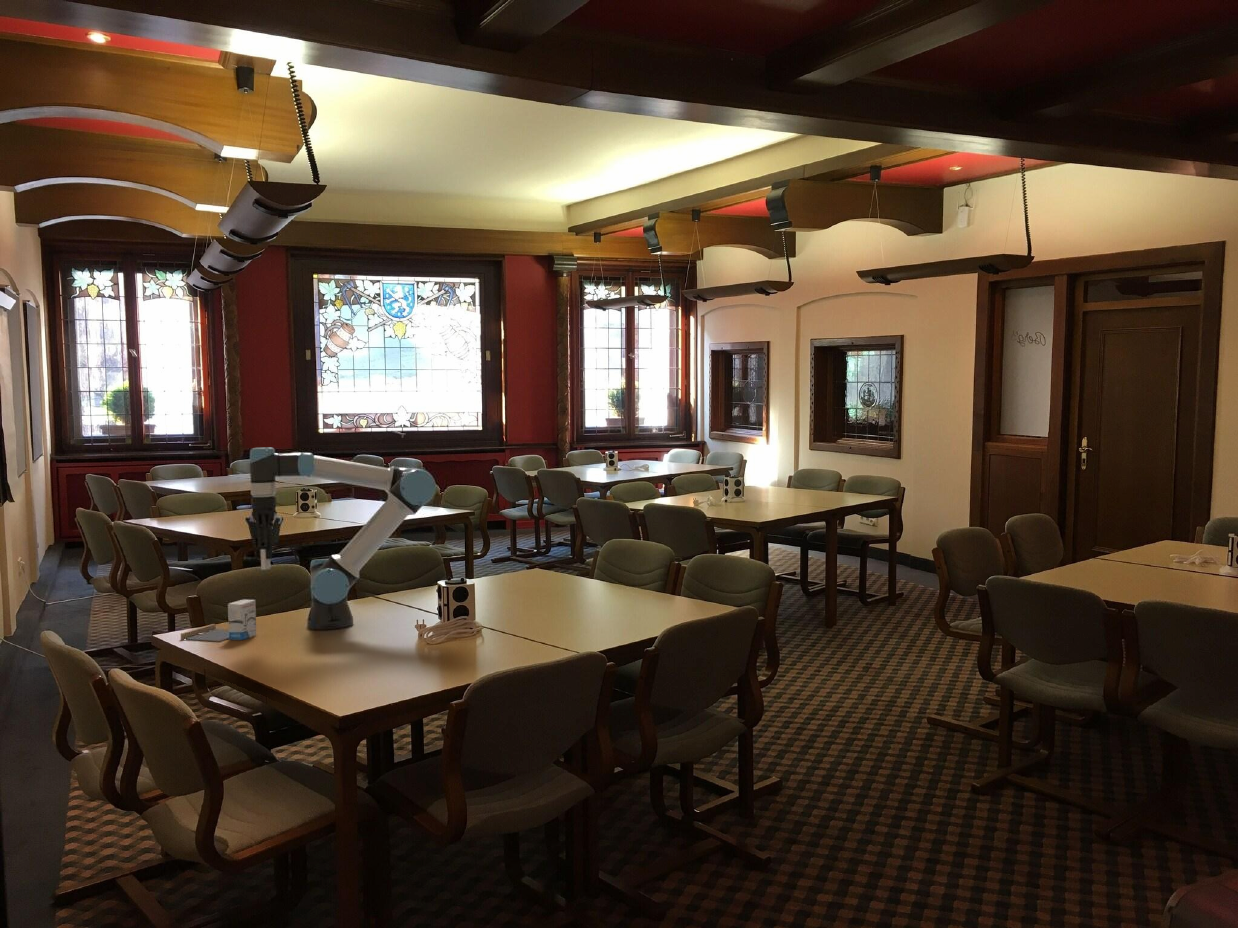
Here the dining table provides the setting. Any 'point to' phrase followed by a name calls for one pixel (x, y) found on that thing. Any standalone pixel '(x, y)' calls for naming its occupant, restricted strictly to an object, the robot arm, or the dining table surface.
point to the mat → (207, 634)
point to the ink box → (242, 619)
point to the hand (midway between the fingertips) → (266, 568)
